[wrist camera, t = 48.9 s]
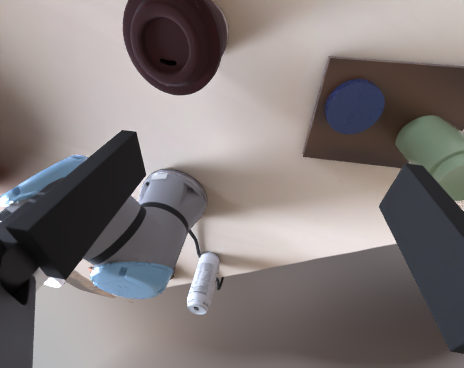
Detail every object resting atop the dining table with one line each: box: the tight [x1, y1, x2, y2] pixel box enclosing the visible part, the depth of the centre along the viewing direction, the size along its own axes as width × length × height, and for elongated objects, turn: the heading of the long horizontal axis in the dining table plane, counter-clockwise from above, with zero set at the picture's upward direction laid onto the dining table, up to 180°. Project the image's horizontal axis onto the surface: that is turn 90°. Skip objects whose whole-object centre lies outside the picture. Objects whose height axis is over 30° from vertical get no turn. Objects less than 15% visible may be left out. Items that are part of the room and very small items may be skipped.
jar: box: [395, 115, 464, 201], centre depth 32 cm, size 7×7×12 cm
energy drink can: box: [187, 252, 220, 314], centre depth 62 cm, size 6×6×15 cm
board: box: [303, 56, 464, 168], centre depth 36 cm, size 16×22×1 cm
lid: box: [324, 79, 385, 134], centre depth 34 cm, size 8×8×2 cm
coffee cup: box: [123, 0, 229, 95], centre depth 27 cm, size 10×10×15 cm
